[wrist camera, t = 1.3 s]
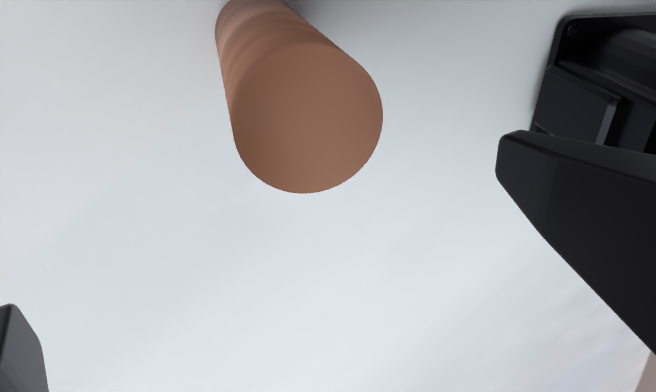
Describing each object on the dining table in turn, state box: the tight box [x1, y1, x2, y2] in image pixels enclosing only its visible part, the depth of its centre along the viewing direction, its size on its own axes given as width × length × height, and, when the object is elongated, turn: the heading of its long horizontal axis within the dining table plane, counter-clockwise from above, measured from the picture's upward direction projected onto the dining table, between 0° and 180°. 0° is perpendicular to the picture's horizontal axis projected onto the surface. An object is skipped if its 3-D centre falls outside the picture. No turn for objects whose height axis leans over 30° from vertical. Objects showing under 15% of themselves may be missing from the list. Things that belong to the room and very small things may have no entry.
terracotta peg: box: [215, 0, 383, 193], centre depth 15 cm, size 3×3×10 cm
